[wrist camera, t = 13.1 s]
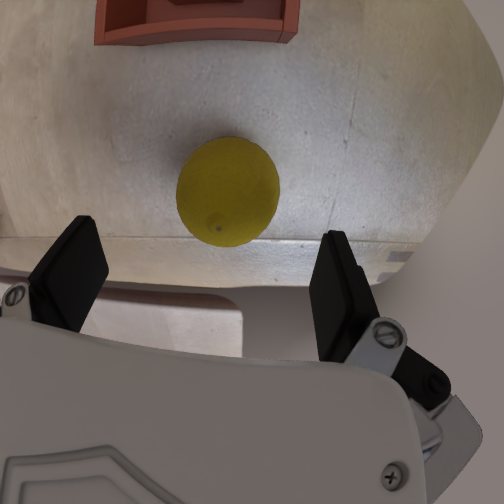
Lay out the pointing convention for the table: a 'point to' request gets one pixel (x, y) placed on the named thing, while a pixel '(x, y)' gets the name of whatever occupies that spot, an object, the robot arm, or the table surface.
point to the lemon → (228, 192)
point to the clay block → (200, 1)
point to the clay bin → (194, 21)
